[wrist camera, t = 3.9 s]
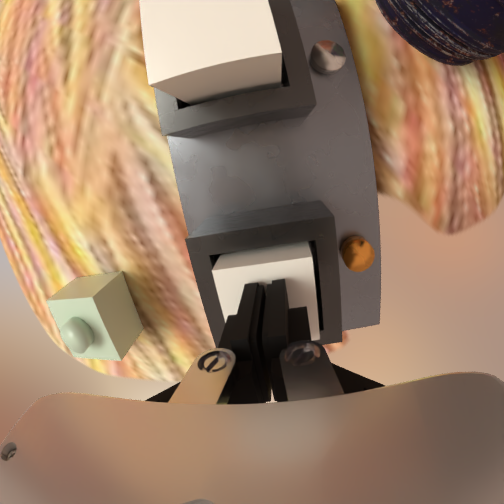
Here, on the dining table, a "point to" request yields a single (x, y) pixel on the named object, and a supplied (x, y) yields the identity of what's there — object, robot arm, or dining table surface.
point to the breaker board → (286, 171)
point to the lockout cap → (96, 316)
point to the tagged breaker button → (269, 277)
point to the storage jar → (449, 27)
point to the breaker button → (210, 48)
